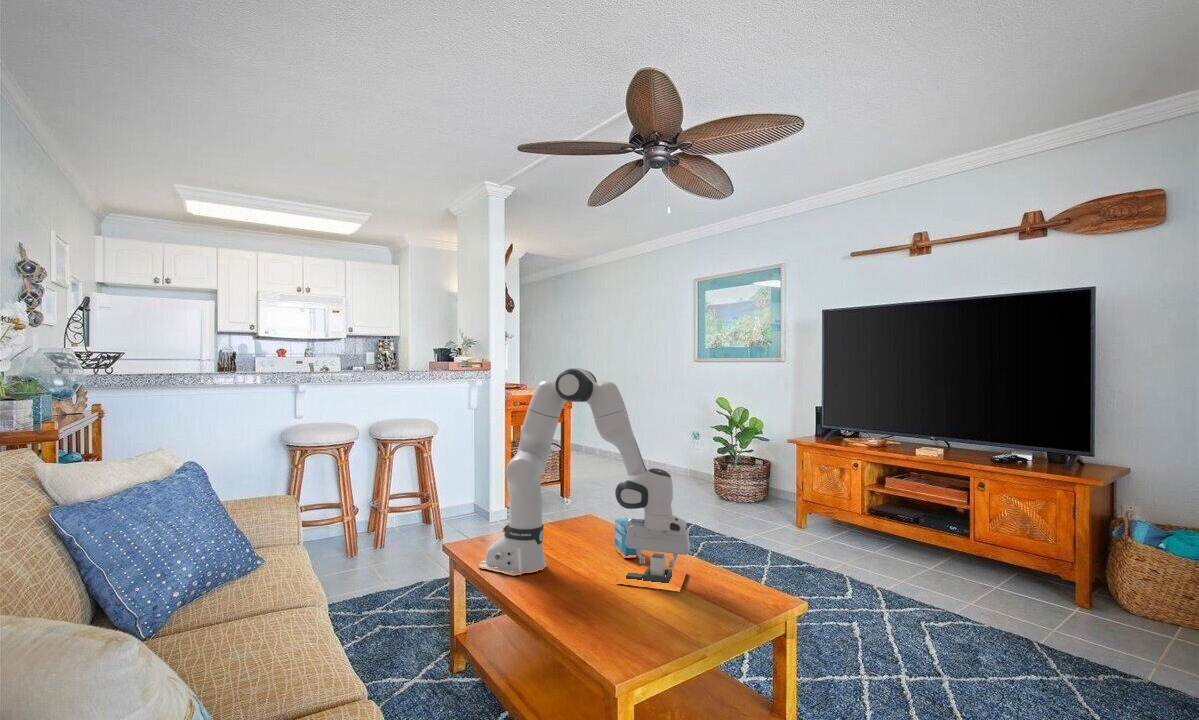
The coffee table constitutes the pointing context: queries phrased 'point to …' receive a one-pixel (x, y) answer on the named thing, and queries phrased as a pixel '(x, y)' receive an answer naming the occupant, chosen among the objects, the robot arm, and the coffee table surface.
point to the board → (651, 576)
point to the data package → (622, 537)
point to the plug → (657, 564)
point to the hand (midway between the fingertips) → (656, 564)
